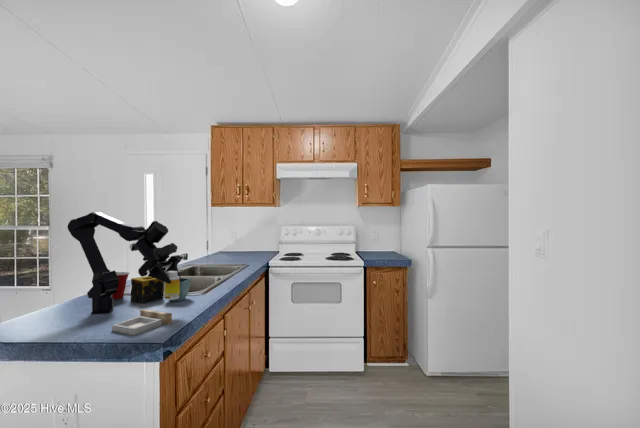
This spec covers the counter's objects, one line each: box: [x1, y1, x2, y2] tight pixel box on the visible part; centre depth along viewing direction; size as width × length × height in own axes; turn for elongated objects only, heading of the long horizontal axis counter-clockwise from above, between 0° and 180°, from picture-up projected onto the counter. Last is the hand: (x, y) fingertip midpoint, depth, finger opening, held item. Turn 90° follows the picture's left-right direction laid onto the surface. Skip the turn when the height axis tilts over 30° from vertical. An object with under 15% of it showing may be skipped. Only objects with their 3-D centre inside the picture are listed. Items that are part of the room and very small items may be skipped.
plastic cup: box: [112, 271, 130, 301], centre depth 155 cm, size 11×11×12 cm
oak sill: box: [139, 309, 173, 325], centre depth 120 cm, size 14×2×4 cm, turn 67°
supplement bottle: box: [163, 270, 181, 301], centre depth 127 cm, size 6×6×10 cm
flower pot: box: [168, 277, 192, 302], centre depth 151 cm, size 9×9×9 cm
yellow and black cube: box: [130, 275, 164, 304], centre depth 151 cm, size 10×10×10 cm
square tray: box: [111, 315, 162, 336], centre depth 114 cm, size 10×10×2 cm
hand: (175, 281), depth 127 cm, fingers closed on supplement bottle, 5 cm apart
